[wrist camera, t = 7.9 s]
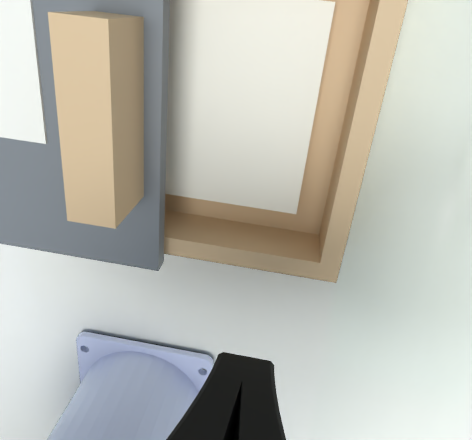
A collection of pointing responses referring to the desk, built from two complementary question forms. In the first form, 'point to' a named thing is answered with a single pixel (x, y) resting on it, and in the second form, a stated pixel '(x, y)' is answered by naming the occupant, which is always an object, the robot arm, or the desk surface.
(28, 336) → the desk surface
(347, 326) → the desk surface
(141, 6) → the lid
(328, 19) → the kraft box
